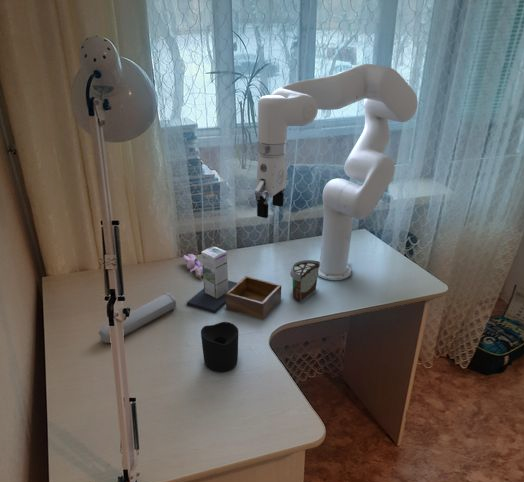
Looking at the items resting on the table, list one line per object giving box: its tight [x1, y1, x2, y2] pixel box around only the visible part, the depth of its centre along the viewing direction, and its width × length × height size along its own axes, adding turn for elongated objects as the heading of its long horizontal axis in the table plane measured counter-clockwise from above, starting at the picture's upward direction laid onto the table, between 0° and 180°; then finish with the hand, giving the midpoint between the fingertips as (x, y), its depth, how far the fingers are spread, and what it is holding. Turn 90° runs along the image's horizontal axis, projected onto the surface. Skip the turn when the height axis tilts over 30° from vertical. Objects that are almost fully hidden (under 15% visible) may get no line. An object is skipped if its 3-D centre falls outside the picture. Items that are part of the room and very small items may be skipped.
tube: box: [98, 291, 177, 344], centre depth 142 cm, size 5×5×25 cm
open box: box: [225, 275, 282, 320], centre depth 152 cm, size 13×13×5 cm
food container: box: [289, 259, 320, 304], centre depth 157 cm, size 12×6×10 cm, turn 145°
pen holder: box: [200, 321, 239, 373], centre depth 127 cm, size 9×9×10 cm
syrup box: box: [200, 245, 229, 299], centre depth 153 cm, size 6×6×14 cm
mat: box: [186, 280, 238, 314], centre depth 158 cm, size 18×10×1 cm, turn 153°
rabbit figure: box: [182, 253, 203, 281], centre depth 169 cm, size 6×6×15 cm
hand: (270, 211), depth 141 cm, fingers open, 9 cm apart
